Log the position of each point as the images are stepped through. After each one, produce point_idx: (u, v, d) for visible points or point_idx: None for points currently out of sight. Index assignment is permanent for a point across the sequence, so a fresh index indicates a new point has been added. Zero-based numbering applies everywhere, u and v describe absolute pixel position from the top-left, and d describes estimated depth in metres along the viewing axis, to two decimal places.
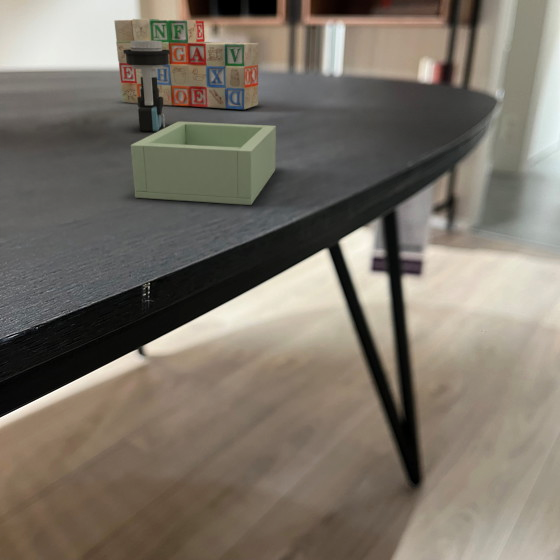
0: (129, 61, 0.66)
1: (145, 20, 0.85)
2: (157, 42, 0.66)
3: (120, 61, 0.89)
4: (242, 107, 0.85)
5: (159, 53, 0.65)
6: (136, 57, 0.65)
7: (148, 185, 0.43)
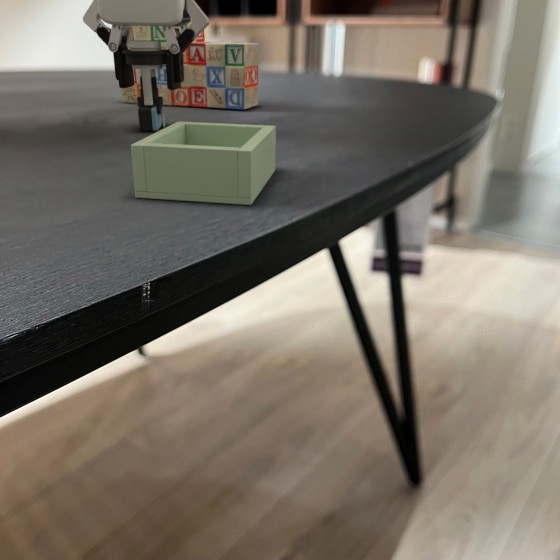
0: (128, 61, 0.66)
1: None
2: (156, 42, 0.66)
3: None
4: (242, 107, 0.85)
5: (158, 53, 0.65)
6: (135, 57, 0.65)
7: (148, 185, 0.43)
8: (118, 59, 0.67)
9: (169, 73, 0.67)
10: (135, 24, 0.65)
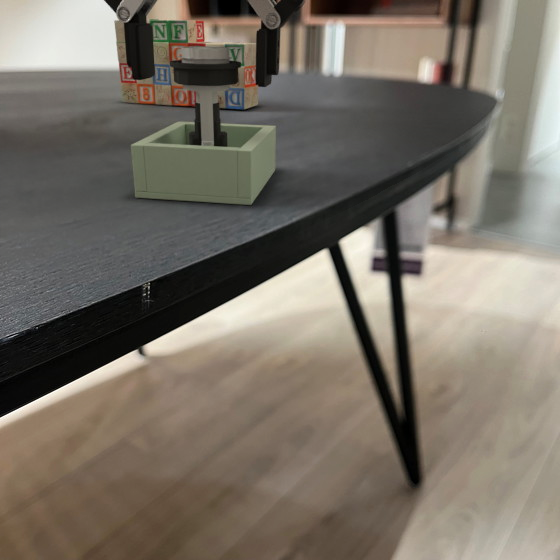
0: (180, 79, 0.42)
1: None
2: (224, 50, 0.42)
3: (120, 61, 0.89)
4: (242, 107, 0.85)
5: (228, 67, 0.42)
6: (192, 73, 0.41)
7: (148, 185, 0.43)
8: (132, 34, 0.42)
9: (261, 60, 0.42)
10: None
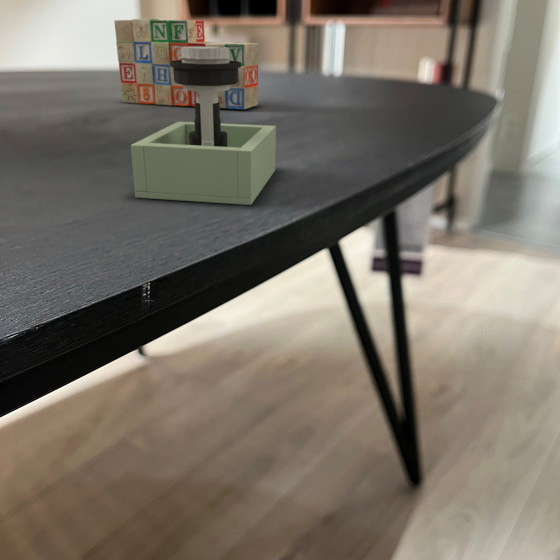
0: (180, 79, 0.42)
1: (145, 20, 0.85)
2: (224, 50, 0.42)
3: (120, 61, 0.89)
4: (242, 107, 0.85)
5: (228, 67, 0.42)
6: (192, 73, 0.41)
7: (148, 185, 0.43)
8: None
9: None
10: None
